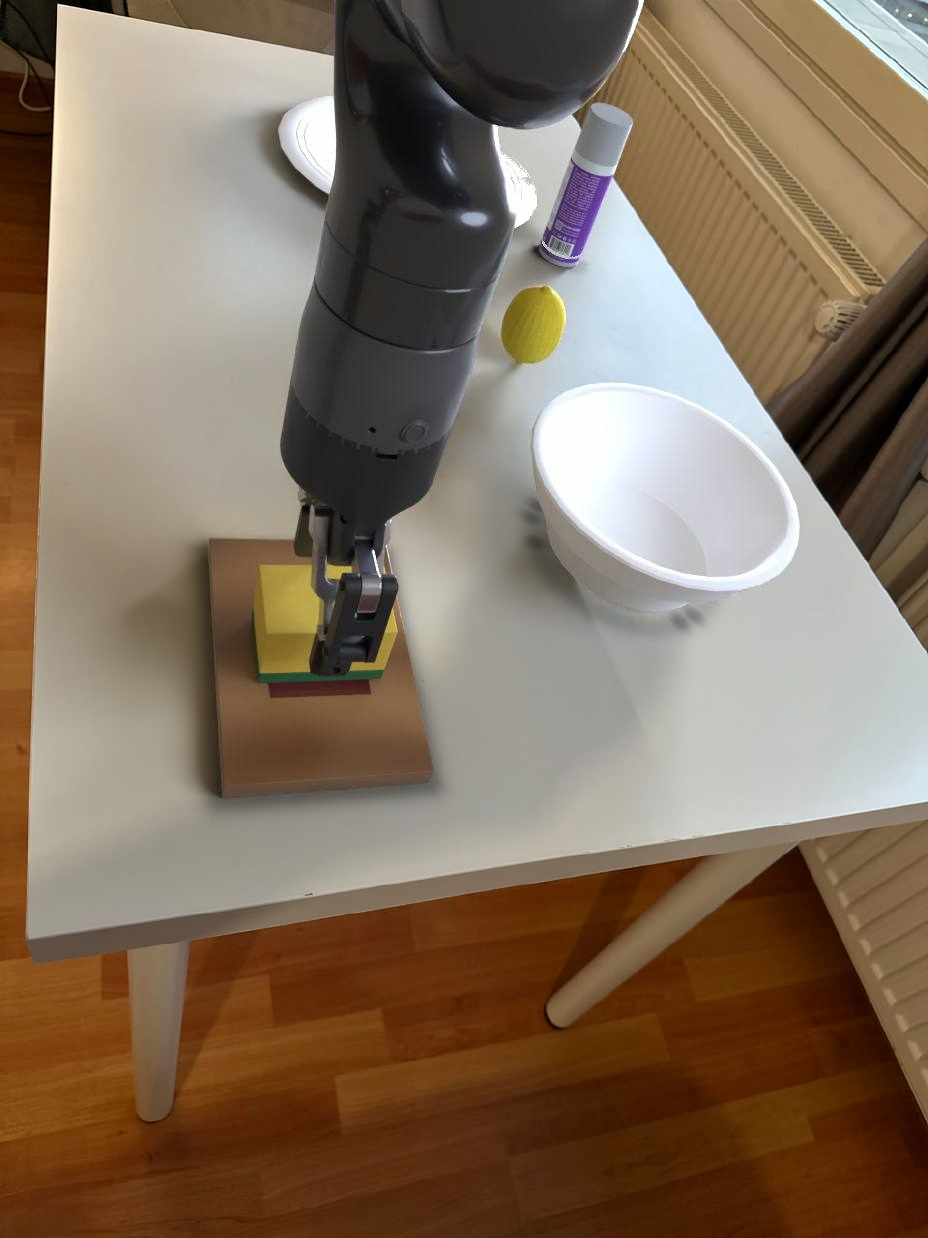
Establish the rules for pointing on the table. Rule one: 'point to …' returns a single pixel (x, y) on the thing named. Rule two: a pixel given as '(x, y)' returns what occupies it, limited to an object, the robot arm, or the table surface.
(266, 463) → the table surface
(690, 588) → the bowl
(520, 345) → the lemon
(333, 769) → the board
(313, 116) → the plate
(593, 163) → the container
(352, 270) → the robot arm
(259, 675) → the sponge
